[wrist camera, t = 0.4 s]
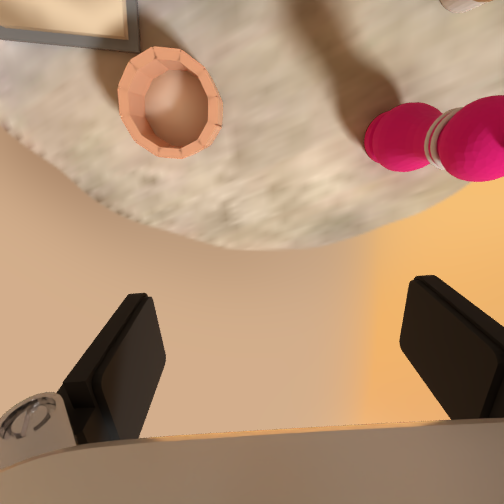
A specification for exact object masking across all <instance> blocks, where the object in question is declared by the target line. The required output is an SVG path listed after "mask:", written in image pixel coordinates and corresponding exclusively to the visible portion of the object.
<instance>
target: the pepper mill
mask: <svg viewBox="0 0 504 504" xmlns="http://www.w3.org/2000/svg"><path fill="white" fill-rule="evenodd" d="M364 145H365V150H366V152H367V154H368V156H369V157H370V158H371V159H372V160H373V161H375V162H377V163H380V164H381V165H382V166H383V167H385V168H387V169H389V170H392V171H399V172H408V171H413V170H416V169H419V168H422V167H424V166H426V165H428V164H431V165H433V166H434V167H436V168H438V169H442V170H446V171H447V172H448V173H450V174H451V175H453V176H454V177H456V178H458V179H461V180H465V181H473V182H483V181H490V180H495V179H497V178H500V177H503V176H504V95H498V96H489V97H485V98H481V99H478V100H476V101H474V102H472V103H470V104H468V105H466V106H465V107H461V108H455V109H451V110H449V111H447V112H445V113H444V114H442V113H441V112H440V111H439V110H438V109H436V108H435V107H433V106H430V105H428V104H425V103H419V102H417V103H405V104H401V105H399V106H397V107H395V108H393V109H392V110H390V111H387V112H384V113H382V114H380V115H379V116H377V117H376V118H375V119H374V120H373V121H372V122H371V124H370V125H369V127H368V129H367V131H366V134H365V139H364Z"/></svg>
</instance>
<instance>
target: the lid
mask: <svg viewBox="0 0 504 504" xmlns="http://www.w3.org/2000/svg"><path fill="white" fill-rule="evenodd" d="M0 26H3V27H5V28H12V29H22V30H32V31H42V32H52V33H62V34H72V35H82V36H93V37H103V38H113V39H123V40H129V37H128V23H127V9H126V0H0Z"/></svg>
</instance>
